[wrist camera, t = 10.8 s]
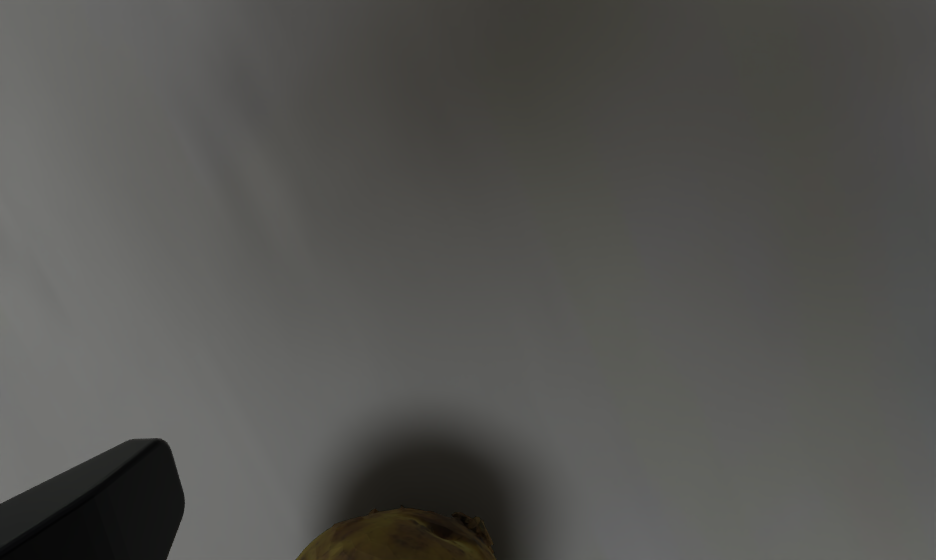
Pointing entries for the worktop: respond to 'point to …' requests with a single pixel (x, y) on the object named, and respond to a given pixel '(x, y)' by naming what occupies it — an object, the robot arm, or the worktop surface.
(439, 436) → the worktop surface
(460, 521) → the potato
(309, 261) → the worktop surface
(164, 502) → the robot arm
